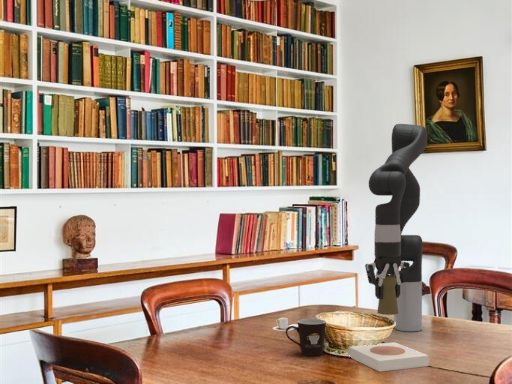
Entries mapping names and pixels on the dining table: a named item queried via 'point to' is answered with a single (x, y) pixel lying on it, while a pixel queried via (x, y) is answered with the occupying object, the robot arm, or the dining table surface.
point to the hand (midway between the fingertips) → (387, 297)
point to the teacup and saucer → (284, 324)
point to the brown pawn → (388, 297)
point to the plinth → (388, 356)
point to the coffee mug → (310, 336)
